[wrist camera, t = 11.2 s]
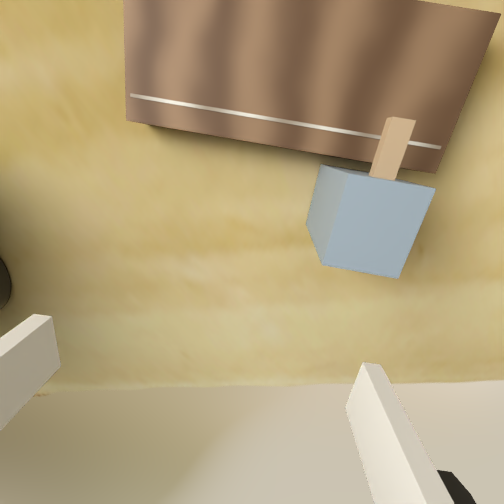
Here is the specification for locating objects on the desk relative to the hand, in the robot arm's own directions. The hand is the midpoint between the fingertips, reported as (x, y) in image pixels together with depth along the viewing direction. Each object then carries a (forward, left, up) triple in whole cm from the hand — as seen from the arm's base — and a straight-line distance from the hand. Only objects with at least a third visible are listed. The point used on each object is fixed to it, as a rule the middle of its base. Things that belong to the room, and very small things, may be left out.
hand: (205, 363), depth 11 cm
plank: (+2, +15, -23) cm, 27 cm away
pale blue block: (+10, +7, -23) cm, 25 cm away
